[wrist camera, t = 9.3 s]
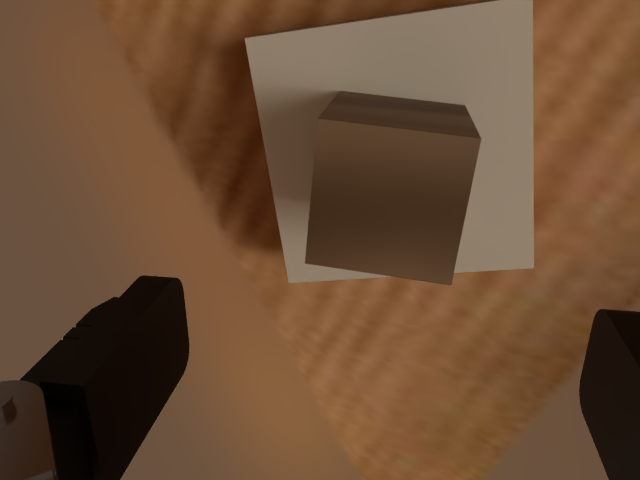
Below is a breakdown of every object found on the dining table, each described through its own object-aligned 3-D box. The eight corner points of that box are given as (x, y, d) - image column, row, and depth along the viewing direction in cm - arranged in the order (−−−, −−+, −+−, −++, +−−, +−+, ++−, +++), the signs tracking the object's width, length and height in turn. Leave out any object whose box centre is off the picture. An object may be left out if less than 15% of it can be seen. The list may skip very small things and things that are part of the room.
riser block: (267, 32, 27) (244, 38, 23) (514, -5, 24) (532, -5, 21) (303, 248, 31) (289, 282, 27) (518, 233, 28) (534, 267, 25)
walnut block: (340, 90, 23) (317, 118, 18) (464, 105, 23) (481, 138, 17) (328, 206, 25) (304, 263, 20) (442, 221, 25) (451, 285, 19)
